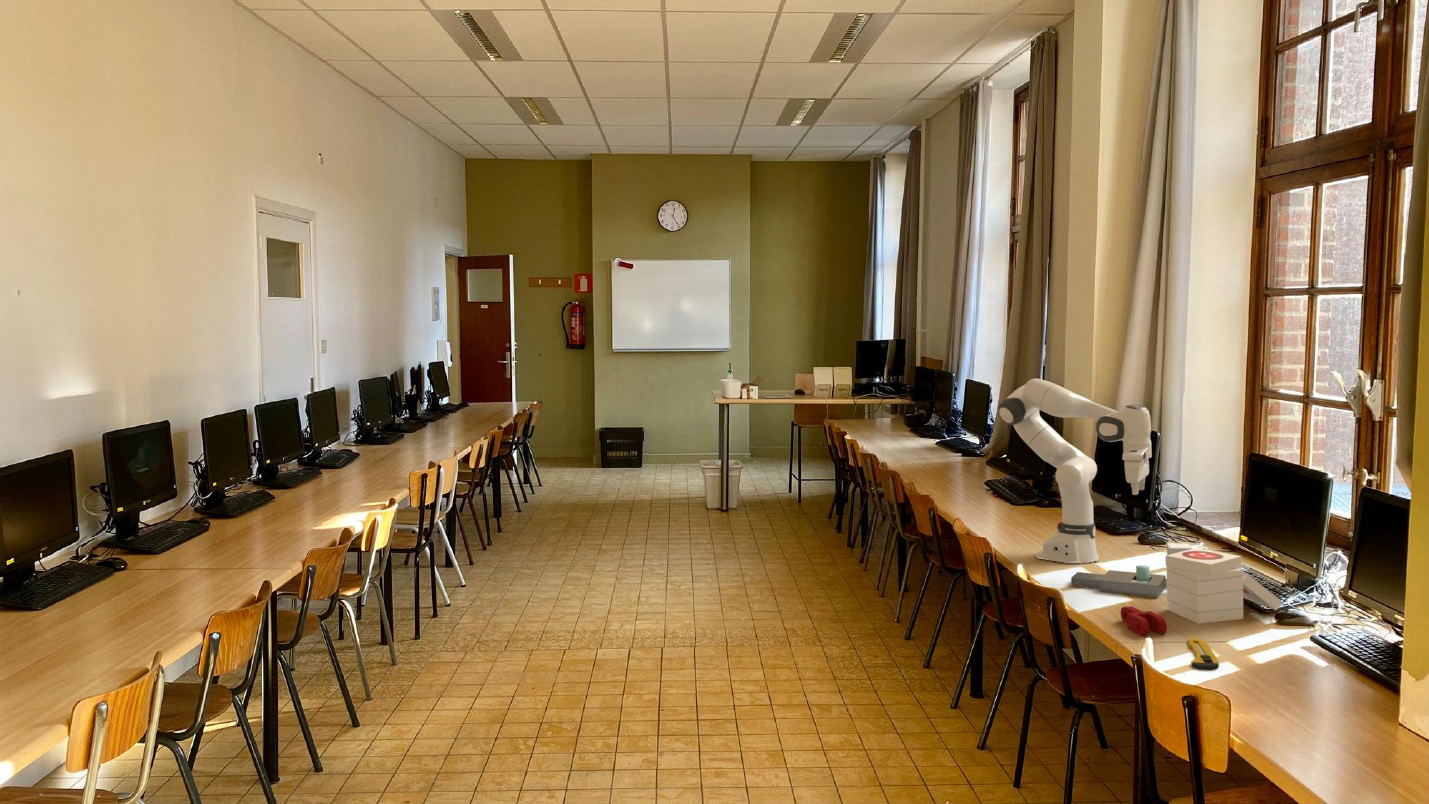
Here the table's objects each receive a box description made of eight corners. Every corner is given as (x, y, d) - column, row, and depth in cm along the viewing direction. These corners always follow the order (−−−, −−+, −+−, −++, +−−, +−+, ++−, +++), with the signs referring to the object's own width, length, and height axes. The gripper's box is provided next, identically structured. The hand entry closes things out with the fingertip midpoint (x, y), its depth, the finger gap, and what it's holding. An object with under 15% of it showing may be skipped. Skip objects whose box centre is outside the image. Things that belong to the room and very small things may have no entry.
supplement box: (1190, 579, 328) (1189, 543, 327) (1193, 584, 321) (1193, 548, 320) (1167, 578, 330) (1166, 542, 329) (1169, 584, 323) (1169, 547, 322)
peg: (1135, 591, 317) (1134, 567, 316) (1137, 588, 320) (1137, 565, 320) (1148, 592, 315) (1147, 568, 314) (1150, 589, 318) (1150, 566, 317)
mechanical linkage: (1166, 635, 273) (1166, 619, 273) (1143, 638, 272) (1143, 621, 272) (1135, 619, 289) (1135, 603, 288) (1113, 621, 288) (1113, 605, 288)
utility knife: (1193, 671, 246) (1193, 663, 246) (1177, 642, 268) (1177, 635, 268) (1222, 672, 244) (1222, 664, 244) (1204, 643, 266) (1204, 636, 266)
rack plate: (1069, 588, 324) (1068, 576, 324) (1079, 578, 336) (1079, 566, 335) (1157, 597, 308) (1157, 585, 308) (1165, 587, 320) (1165, 574, 319)
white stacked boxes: (1287, 616, 284) (1286, 557, 282) (1195, 626, 279) (1194, 566, 278) (1242, 598, 302) (1242, 543, 301) (1156, 608, 298) (1155, 551, 297)
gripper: (1134, 448, 336) (1134, 486, 337) (1121, 456, 319) (1122, 496, 320) (1153, 448, 332) (1154, 487, 333) (1141, 456, 316) (1142, 497, 317)
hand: (1138, 492), depth 327 cm, fingers open, 8 cm apart
